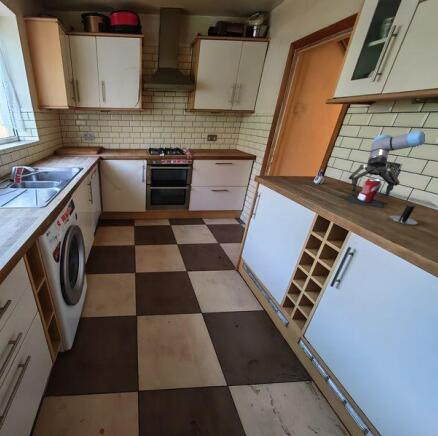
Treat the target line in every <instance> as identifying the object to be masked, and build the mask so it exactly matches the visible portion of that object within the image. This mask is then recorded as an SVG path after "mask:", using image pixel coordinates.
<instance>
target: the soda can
mask: <svg viewBox="0 0 438 436" xmlns="http://www.w3.org/2000/svg"><path fill="white" fill-rule="evenodd" d="M382 185H383V184H382V180H381V179H377V178H376V179H375V178H367V179H366V180H365V181H364V183H363V184H362V187H361V189H360V192H359V194H358V196H357V197H358V199H359V200H360V201H363V202H373V201H374V200H376V197H377V195H378V193H379V191H380V189H381V187H382Z"/></svg>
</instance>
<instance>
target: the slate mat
mask: <svg viewBox="0 0 438 436" xmlns="http://www.w3.org/2000/svg"><path fill="white" fill-rule="evenodd" d="M347 200H348V202H349V203H352V204H357V205H363V206H368V207H373V208H378V209H379V208H380V209H384V208H385V207H384V205H383V204H382V202H381V200H378V199H374V201H373V202H363V201H360V200H359V199H358V196H355V195H347Z"/></svg>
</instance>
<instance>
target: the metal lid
mask: <svg viewBox="0 0 438 436" xmlns="http://www.w3.org/2000/svg"><path fill="white" fill-rule="evenodd" d="M415 208H416V206H415V205H413V204H407V205H406V207H405V208H404V210H403V212H402V214H401V216H400V215H389V217H388V219H389V220H390V221H392V222H394V223H398V224H401V225H404V226H412V227H413V226H417V225H418V222H417V221H416V220H414V219H412V218H409V217H410V216H412V213H413V211H414V210H415Z"/></svg>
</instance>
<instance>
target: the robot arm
mask: <svg viewBox="0 0 438 436" xmlns="http://www.w3.org/2000/svg"><path fill="white" fill-rule="evenodd" d="M372 140H373V141H372V143H371V147H370V152H369V156H368V161H367V164H366V166H365V165H364V164H363V163H361V164H360V165H359V166H358V168H357V169H356V170H355V171H354V172H353V173H351V175H349V177H348V180H351V186H352V190H351V191H352V192H355V190H357V186H358V181H359V180H360V178H363V177H364V176H367V175H370V176H378V177H379V178H382V180H383V181H384V182H385V183H386V184H387V186H386V189H385V194H384V197H386V198H387V197H388V196H390V193H391V192H392V191H393V190H394V187H396V186H398V185H399V184H401V182H400V180H399V178H398V176H397V174H396V173H395V171H394V170H395V169H394V167H390V168H387V164H388V163H387V162H388V159H389V155H390V154H389V153H390V152H393V151H398V150H404V149H410V148H417V147H420V146H422V144H423V145H424V144H425V143H424V142H425V134H424V132H423V131H420V130H416V131H411V132H407V133H403V134H399V135H394V136H392V135H390V134H379V135H377V136H376V137H374V138H373V139H372ZM419 145H420V146H419ZM416 146H417V147H416ZM362 170H365V171H363V172H361V171H362ZM360 172H361V173H360Z"/></svg>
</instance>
